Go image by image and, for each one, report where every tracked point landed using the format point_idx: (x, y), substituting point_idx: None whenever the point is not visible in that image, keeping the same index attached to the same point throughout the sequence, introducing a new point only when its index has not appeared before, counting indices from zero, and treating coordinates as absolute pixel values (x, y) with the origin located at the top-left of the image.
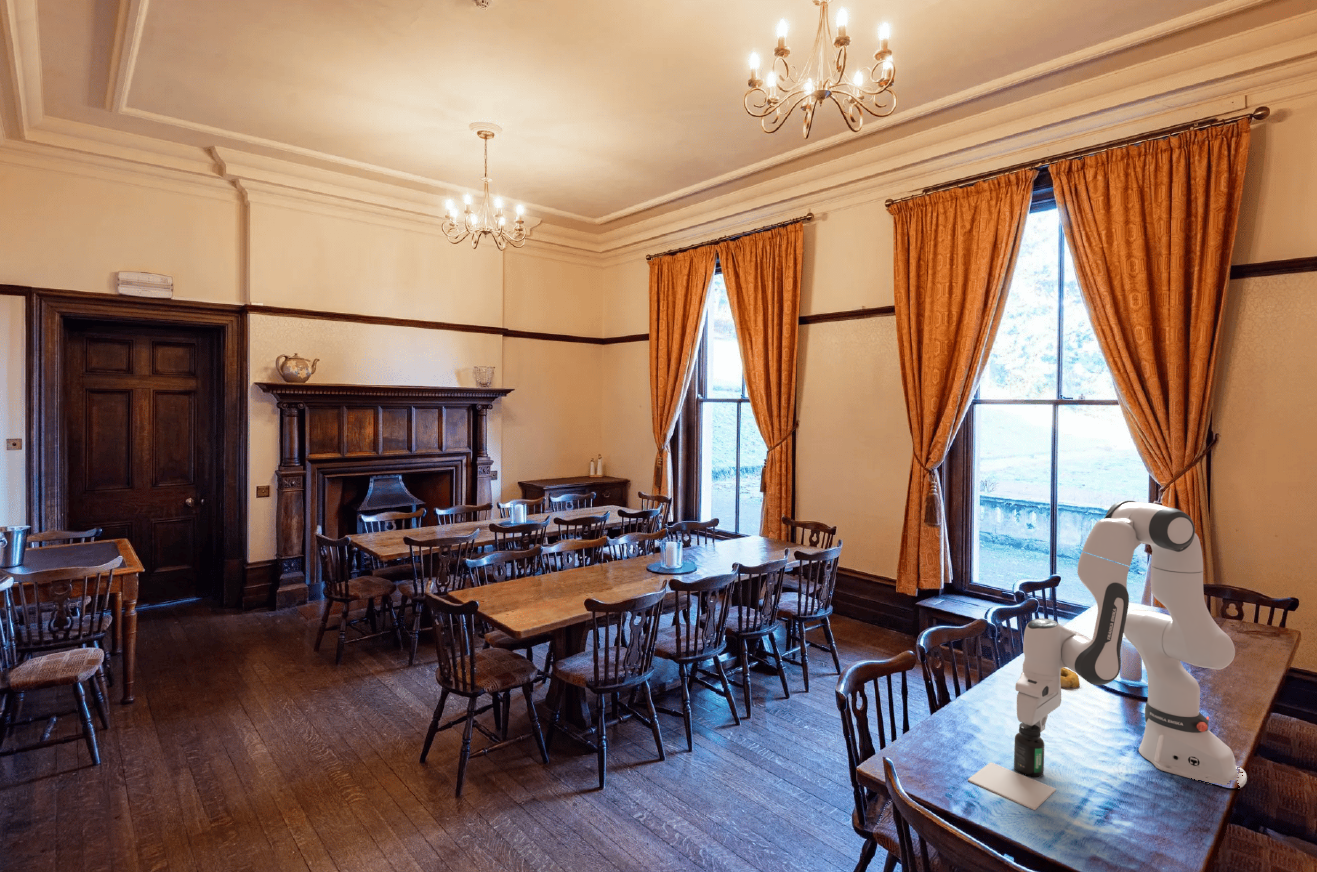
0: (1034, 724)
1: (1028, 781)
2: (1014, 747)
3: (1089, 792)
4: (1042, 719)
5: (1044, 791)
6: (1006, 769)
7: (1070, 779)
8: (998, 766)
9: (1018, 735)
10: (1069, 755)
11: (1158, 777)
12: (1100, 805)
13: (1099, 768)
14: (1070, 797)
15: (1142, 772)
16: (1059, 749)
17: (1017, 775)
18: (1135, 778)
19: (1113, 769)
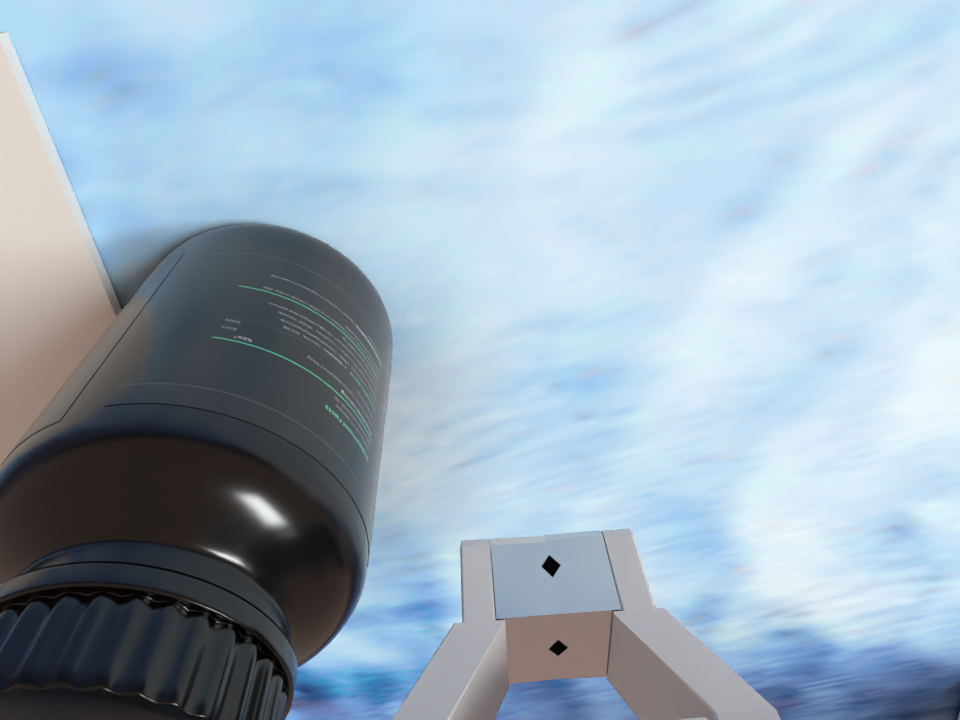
0: (449, 640)
1: None
2: (100, 351)
3: (391, 614)
4: (657, 708)
5: None
6: (57, 223)
7: (448, 520)
8: (14, 145)
9: (14, 535)
10: (841, 392)
11: (869, 696)
12: (307, 671)
13: (764, 551)
14: None
15: (880, 656)
16: (913, 308)
17: (77, 328)
18: (774, 660)
19: (811, 588)
